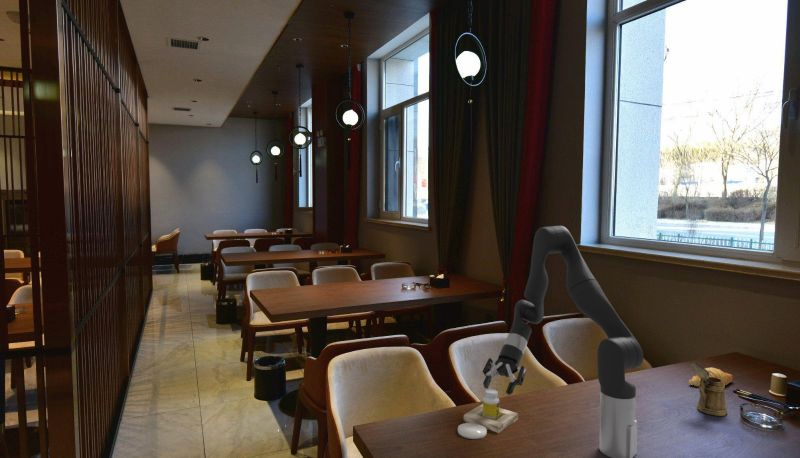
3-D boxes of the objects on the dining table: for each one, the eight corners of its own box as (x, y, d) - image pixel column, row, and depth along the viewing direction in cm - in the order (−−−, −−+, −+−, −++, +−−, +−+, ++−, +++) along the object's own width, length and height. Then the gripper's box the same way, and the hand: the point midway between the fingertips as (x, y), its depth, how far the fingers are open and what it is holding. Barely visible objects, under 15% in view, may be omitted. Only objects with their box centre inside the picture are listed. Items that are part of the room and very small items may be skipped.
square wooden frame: (518, 419, 160) (518, 413, 160) (498, 432, 150) (498, 426, 150) (484, 408, 169) (484, 403, 169) (463, 420, 159) (463, 414, 159)
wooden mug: (681, 409, 169) (682, 358, 168) (708, 404, 173) (710, 354, 173) (705, 420, 160) (706, 366, 160) (733, 414, 165) (735, 362, 164)
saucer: (492, 431, 151) (492, 428, 151) (476, 441, 145) (476, 438, 145) (467, 423, 157) (467, 420, 157) (452, 432, 150) (452, 429, 150)
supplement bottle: (499, 424, 156) (499, 394, 156) (482, 423, 157) (482, 393, 157) (499, 417, 162) (499, 388, 161) (482, 416, 163) (483, 387, 162)
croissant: (695, 397, 189) (704, 383, 185) (677, 378, 197) (684, 364, 193) (737, 391, 194) (746, 377, 190) (717, 372, 203) (726, 358, 199)
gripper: (491, 340, 173) (474, 380, 164) (528, 347, 163) (511, 390, 155) (499, 351, 177) (482, 390, 169) (535, 359, 167) (519, 401, 159)
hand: (496, 390), depth 162 cm, fingers open, 8 cm apart
